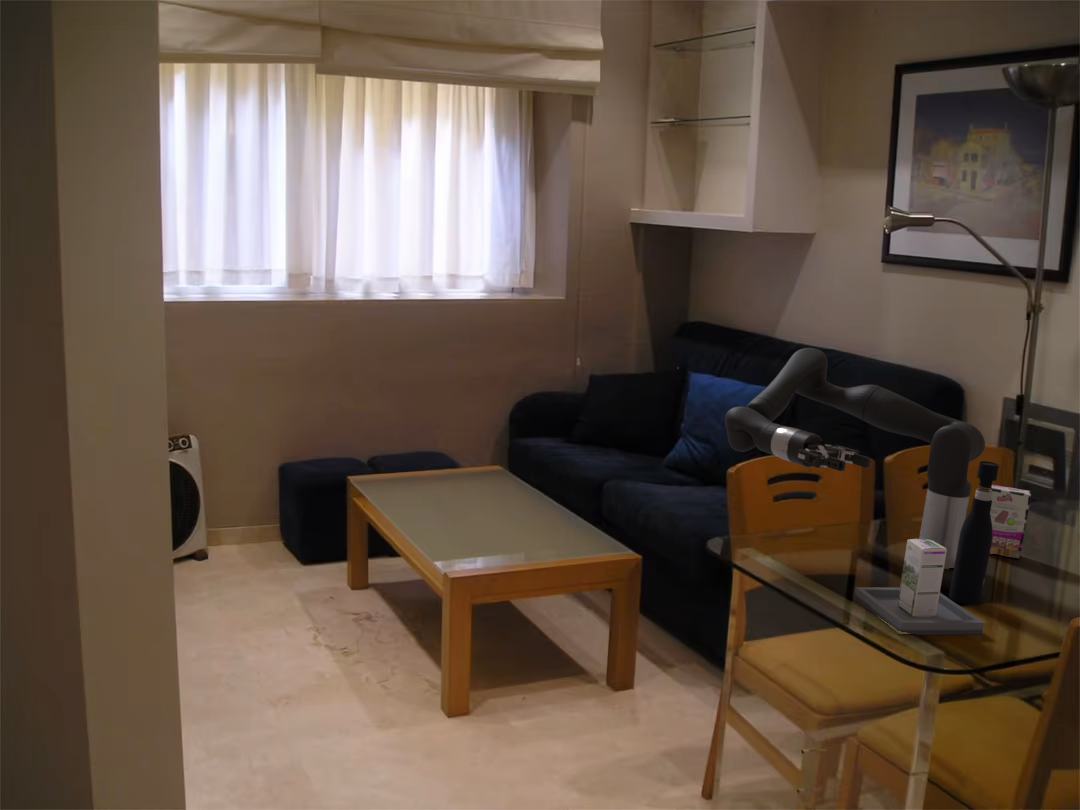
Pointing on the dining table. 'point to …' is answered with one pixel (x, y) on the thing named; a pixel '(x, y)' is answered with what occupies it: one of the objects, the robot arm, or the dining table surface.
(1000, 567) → the dining table surface
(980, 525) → the dark water bottle
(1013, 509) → the candy bar box
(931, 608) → the syrup box
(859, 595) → the tray
